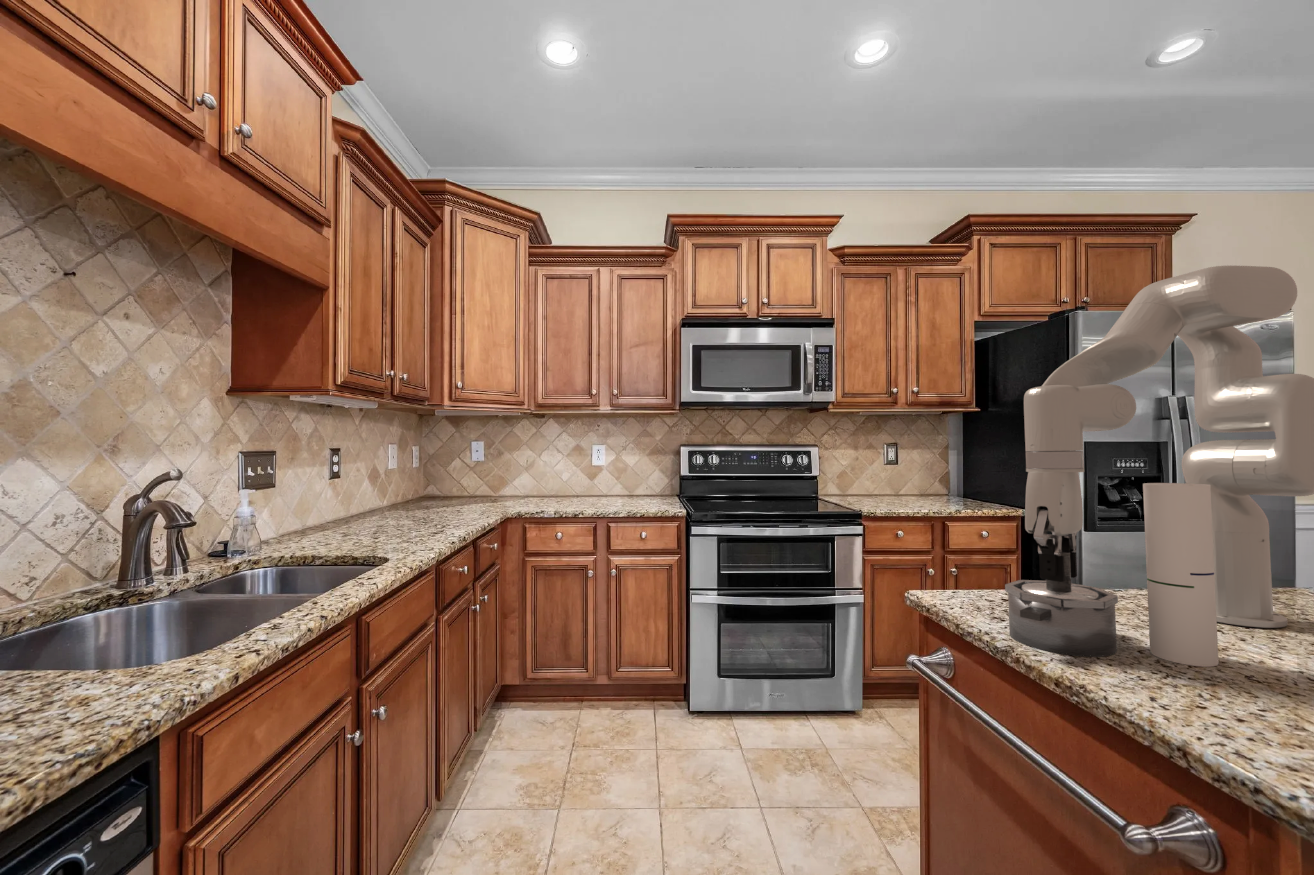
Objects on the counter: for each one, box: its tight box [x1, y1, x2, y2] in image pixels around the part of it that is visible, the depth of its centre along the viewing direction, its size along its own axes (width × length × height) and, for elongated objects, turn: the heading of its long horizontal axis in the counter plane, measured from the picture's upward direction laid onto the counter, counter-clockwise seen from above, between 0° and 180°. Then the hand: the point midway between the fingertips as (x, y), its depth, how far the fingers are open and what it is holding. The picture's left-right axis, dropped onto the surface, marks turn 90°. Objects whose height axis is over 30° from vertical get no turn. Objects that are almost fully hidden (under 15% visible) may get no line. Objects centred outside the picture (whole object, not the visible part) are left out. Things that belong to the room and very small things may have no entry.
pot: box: [1004, 579, 1119, 658], centre depth 86 cm, size 21×14×8 cm, turn 124°
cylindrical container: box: [1142, 482, 1220, 668], centre depth 79 cm, size 7×7×25 cm
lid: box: [1022, 551, 1099, 600], centre depth 87 cm, size 10×10×7 cm
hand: (1058, 576), depth 87 cm, fingers open, 4 cm apart
